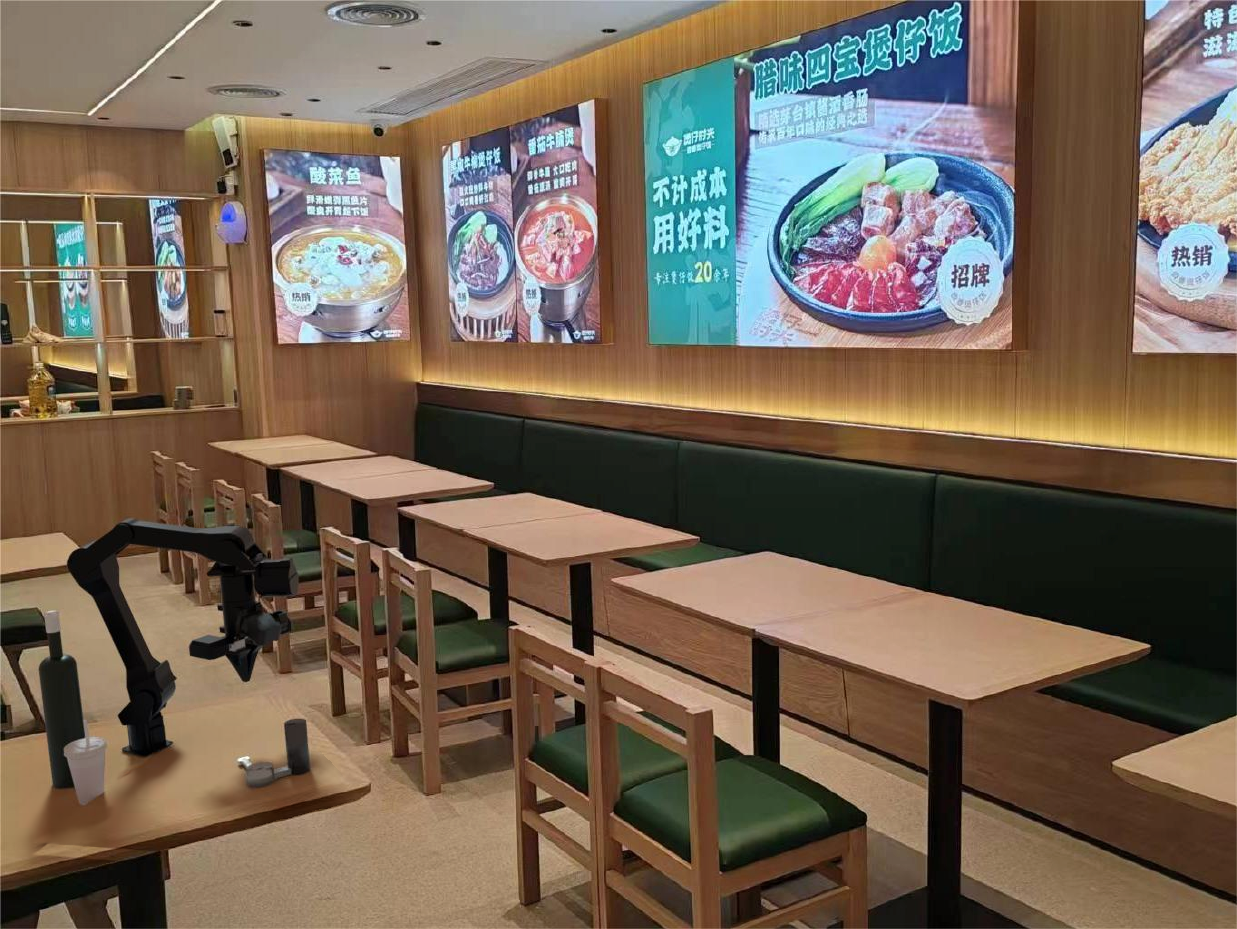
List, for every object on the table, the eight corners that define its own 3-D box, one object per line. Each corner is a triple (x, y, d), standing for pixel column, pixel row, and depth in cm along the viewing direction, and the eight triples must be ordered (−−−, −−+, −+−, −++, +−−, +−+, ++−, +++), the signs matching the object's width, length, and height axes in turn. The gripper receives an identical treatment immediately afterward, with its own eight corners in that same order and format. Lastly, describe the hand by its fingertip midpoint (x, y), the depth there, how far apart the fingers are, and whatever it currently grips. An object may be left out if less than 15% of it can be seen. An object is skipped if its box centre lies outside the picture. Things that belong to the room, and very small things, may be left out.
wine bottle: (90, 783, 188) (70, 613, 183) (52, 791, 186) (31, 618, 181) (89, 771, 193) (70, 604, 188) (52, 778, 191) (32, 610, 186)
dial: (252, 789, 181) (247, 740, 179) (230, 766, 190) (225, 719, 188) (314, 771, 187) (310, 723, 185) (290, 750, 196) (286, 704, 195)
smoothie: (96, 810, 178) (86, 728, 176) (61, 808, 179) (50, 726, 177) (121, 792, 184) (112, 712, 182) (87, 790, 185) (77, 711, 183)
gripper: (226, 617, 186) (235, 706, 188) (309, 589, 202) (316, 672, 204) (183, 609, 192) (191, 696, 194) (267, 583, 207) (274, 663, 210)
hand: (246, 681), depth 200 cm, fingers closed
